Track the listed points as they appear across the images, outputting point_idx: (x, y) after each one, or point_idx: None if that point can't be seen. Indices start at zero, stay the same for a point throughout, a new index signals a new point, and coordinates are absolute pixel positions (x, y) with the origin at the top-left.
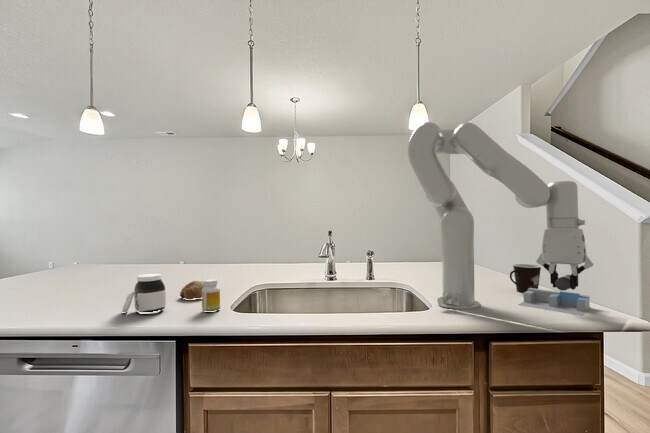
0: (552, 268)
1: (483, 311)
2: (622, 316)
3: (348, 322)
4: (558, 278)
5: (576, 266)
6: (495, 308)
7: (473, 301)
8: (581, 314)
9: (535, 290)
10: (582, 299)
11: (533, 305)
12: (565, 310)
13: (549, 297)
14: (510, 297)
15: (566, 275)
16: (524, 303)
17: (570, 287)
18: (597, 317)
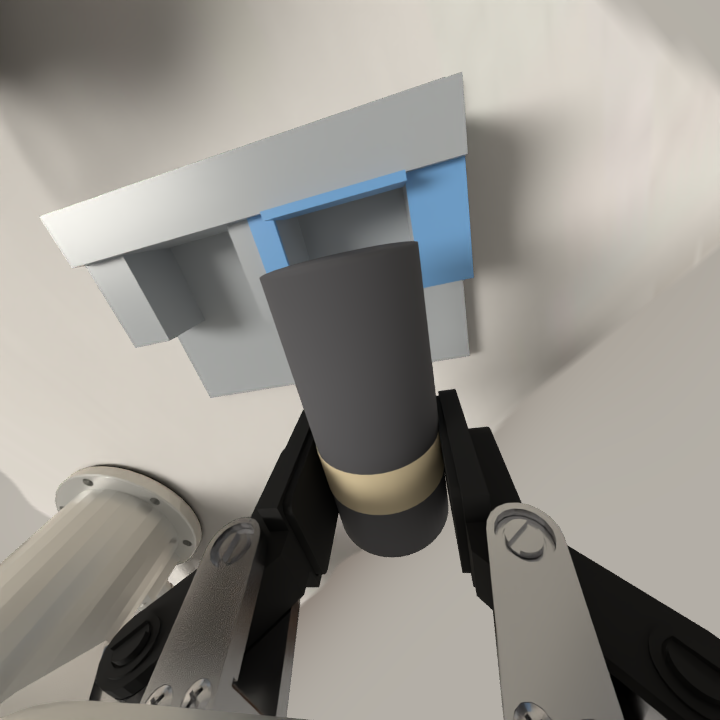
0: (279, 660)
1: (222, 516)
2: (646, 105)
3: None
4: (362, 547)
5: (573, 685)
6: (206, 468)
7: (162, 530)
8: (461, 337)
9: (118, 253)
10: (447, 248)
11: (246, 355)
12: None
13: (270, 318)
14: (39, 244)
15: (327, 377)
16: (201, 352)
17: (444, 471)
18: (520, 279)
